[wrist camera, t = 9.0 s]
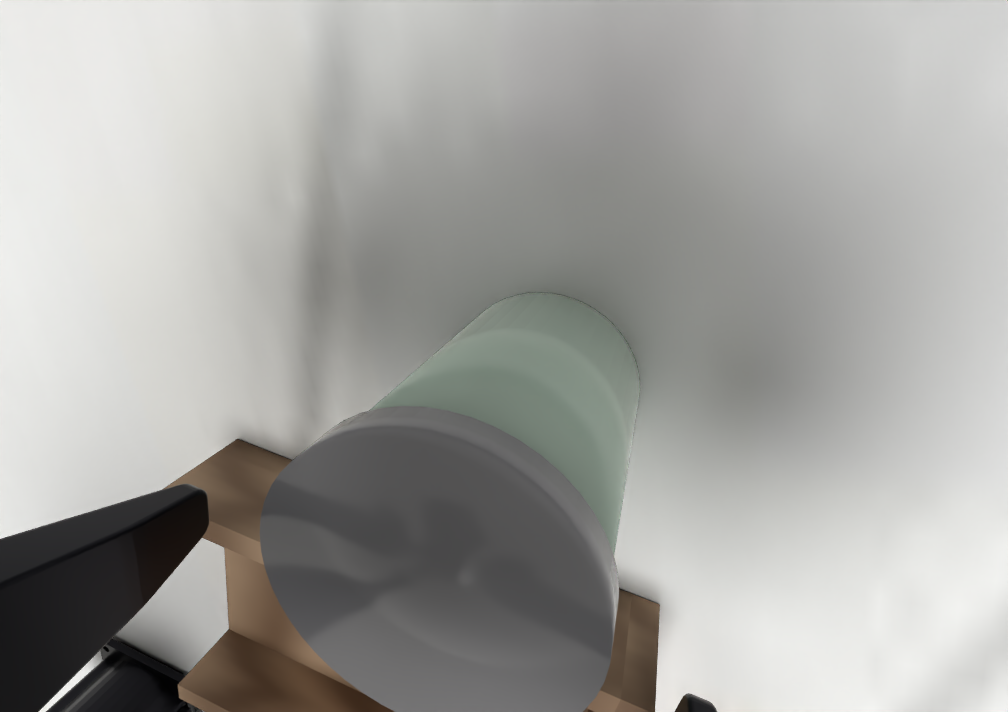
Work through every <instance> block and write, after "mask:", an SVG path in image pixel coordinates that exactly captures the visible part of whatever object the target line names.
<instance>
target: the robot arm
mask: <svg viewBox="0 0 1008 712" xmlns="http://www.w3.org/2000/svg"><path fill="white" fill-rule="evenodd" d="M208 526H209V509H208V496H207V493H206V492H205V490H203V489H201V488H198V487H196V486H194V485H191V484H180V485H177V486H173V487H170V488H167V489H163V490H160V491H157V492H154V493H150V494H147V495H144V496H140V497H137V498H134V499H131V500H127V501H124V502H121V503H117V504H114V505H111V506H107V507H104V508H101V509H98V510H94V511H91V512H88V513H84V514H81V515H78V516H74V517H71V518H68V519H65V520H61V521H58V522H55V523H51V524H48V525H45V526H41V527H38V528H35V529H32V530H28V531H25V532H22V533H18V534H15V535H12V536H8V537H5V538H2V539H0V712H39V711H40V710H41V709H42V708H43V707H44V706H45V705H46V704H47V703H48V702H49V701H50V700H51V699H52V698H53V697H54V696H55V695H56V694H57V693H58V692H59V691H60V690H61V689H62V688H63V687H64V686H65V685H66V684H67V683H68V682H69V681H70V680H71V679H72V678H73V677H74V676H75V675H76V674H77V673H78V672H79V671H80V670H81V669H82V668H83V667H84V666H85V665H86V664H87V663H88V662H89V661H90V660H91V659H92V658H93V657H94V656H95V655H96V654H97V653H98V652H99V651H100V650H101V654H102V659H103V661H102V662H101V663H99V664H98V665H97V666H96V667H95V668H94V669H93V670H92V671H91V672H89V673H88V674H87V675H86V676H85V677H84V678H83V679H82V680H81V681H79V682H78V683H77V684H76V685H75V686H74V687H73V688H72V689H71V690H69V691H68V692H67V693H66V694H65V695H64V696H63V697H62V698H61V699H59V700H58V701H57V702H56V703H55V704H54V705H53V706H52V707H51V708H49V709H48V710H47V711H46V712H195V707H194V706H193V705H191V704H189V703H187V702H186V701H184V700H182V699H180V698H179V692H178V684H179V683H180V682H181V681H182V679H183V678H184V677H185V675H183V674H181V673H179V672H177V671H175V670H173V669H171V668H169V667H167V666H165V665H163V664H161V663H159V662H157V661H155V660H153V659H151V658H149V657H147V656H146V655H144V654H142V653H140V652H138V651H136V650H134V649H132V648H130V647H128V646H126V645H124V644H122V643H120V642H118V641H116V640H114V639H112V638H113V637H114V636H115V635H116V634H117V633H118V632H119V631H120V630H121V629H122V628H123V627H124V626H125V625H126V624H127V623H128V622H129V621H130V620H131V619H132V618H133V617H134V616H135V615H136V613H137V612H138V611H139V610H140V609H141V608H142V607H143V606H144V605H145V604H146V603H147V602H148V601H149V599H150V598H151V597H152V596H153V595H154V594H155V593H156V591H157V590H158V589H159V588H160V587H161V586H162V584H163V583H164V582H165V581H166V580H167V578H168V577H169V576H170V575H171V574H172V572H173V571H174V570H175V569H176V568H177V567H178V565H179V564H180V563H181V562H182V561H183V559H184V558H185V557H186V556H187V555H188V553H189V552H190V551H191V550H192V549H193V548H194V546H195V545H196V544H197V543H198V542H199V540H200V539H201V538H202V537H203V536H204V534H205V532H206V531H207V529H208ZM675 712H717V710H716V708H715V707H714V705H713V704H712V703H710V702H709V701H707V700H704V699H702V698H700V697H697V696H695V695H692V694H689V693H688V694H686V695H684V696H683V698H682V700H681V701H680V703H679V705H678V707H677V708H676V710H675Z"/></svg>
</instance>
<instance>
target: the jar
mask: <svg viewBox="0 0 1008 712" xmlns="http://www.w3.org/2000/svg"><path fill="white" fill-rule="evenodd" d="M639 395H640V378H639V373H638V367H637V364H636V361H635V358H634V355H633V353H632V351H631V349H630V347H629V345H628V343H627V342H626V340H625V339H624V337H623V336H622V334H621V333H620V332H619V330H618V329H617V328H616V327H615V326H614V325H613V324H612V323H611V322H610V321H609V320H608V319H607V318H606V317H604V316H603V315H602V314H601V313H599V312H598V311H596V310H595V309H593V308H592V307H590V306H588V305H586V304H584V303H582V302H580V301H578V300H575V299H572V298H570V297H567V296H563V295H558V294H553V293H542V292H539V293H525V294H520V295H515V296H512V297H509V298H506V299H503V300H501V301H499V302H497V303H495V304H493V305H492V306H491V307H489V308H488V309H486V310H485V311H484V312H482V313H481V314H480V315H479V316H478V317H477V318H475V319H474V320H473V321H472V322H471V323H470V324H469V325H467V326H466V327H465V328H464V329H463V330H462V331H460V332H459V333H458V334H457V335H456V336H455V337H454V338H452V339H451V340H450V341H449V342H448V343H447V344H445V345H444V346H443V347H442V348H441V349H440V350H438V351H437V352H436V353H435V354H434V355H433V356H432V357H430V358H429V359H428V360H427V361H426V362H425V363H423V364H422V365H421V366H420V367H419V368H418V369H417V370H415V371H414V372H413V373H412V374H411V375H410V376H408V377H407V378H406V379H405V380H404V381H403V382H401V383H400V384H399V385H398V386H397V387H396V388H395V389H393V390H392V391H391V392H390V393H389V394H388V395H386V396H385V397H384V398H383V399H382V400H381V401H380V402H378V403H377V404H376V405H375V406H374V407H373V408H371V409H370V410H369V411H367V412H363V413H360V414H357V415H355V416H353V417H351V418H348V419H346V420H344V421H342V422H341V423H339V424H338V425H336V426H335V427H333V428H332V429H330V430H329V431H328V432H326V433H325V434H324V435H323V436H322V437H320V438H319V439H318V440H317V441H315V442H314V443H313V444H312V445H311V446H309V447H308V448H307V449H306V450H305V451H303V452H302V453H301V454H300V455H298V456H297V457H296V458H295V459H294V460H292V461H291V462H290V463H289V464H288V465H287V466H286V467H285V468H284V469H283V470H282V471H281V472H280V473H279V475H278V476H277V478H276V479H275V481H274V482H273V484H272V485H271V487H270V489H269V491H268V494H267V496H266V498H265V501H264V505H263V509H262V513H261V519H260V544H261V553H262V557H263V562H264V566H265V570H266V573H267V576H268V578H269V581H270V584H271V587H272V589H273V591H274V593H275V595H276V597H277V599H278V601H279V603H280V605H281V607H282V608H283V610H284V612H285V613H286V615H287V617H288V618H289V620H290V621H291V623H292V624H293V626H294V627H295V628H296V630H297V631H298V632H299V634H300V635H301V637H302V638H303V639H304V640H305V641H306V642H307V644H308V645H309V646H310V647H311V648H312V649H313V650H314V652H315V653H316V654H317V655H318V656H319V657H320V658H321V659H322V660H323V661H324V662H325V663H326V664H327V665H328V666H329V667H331V668H332V669H333V670H334V671H335V672H336V673H338V674H339V675H340V676H341V677H342V678H344V679H345V680H346V681H347V682H349V683H350V684H351V685H353V686H354V687H355V688H357V689H358V690H360V691H361V692H362V693H364V694H365V695H367V696H369V697H370V698H372V699H373V700H375V701H377V702H378V703H380V704H381V705H383V706H385V707H387V708H389V709H391V710H393V711H395V712H583V711H584V710H585V709H586V708H587V707H588V706H589V704H590V703H591V702H592V701H593V700H594V699H595V698H596V696H597V694H598V692H599V691H600V689H601V687H602V685H603V684H604V682H605V679H606V675H607V672H608V669H609V666H610V661H611V653H612V646H613V639H614V631H615V624H616V616H617V608H618V600H619V583H618V572H617V568H616V563H615V559H614V552H615V546H616V540H617V533H618V527H619V521H620V515H621V509H622V502H623V496H624V490H625V484H626V478H627V471H628V465H629V459H630V453H631V447H632V441H633V434H634V428H635V422H636V416H637V410H638V403H639Z"/></svg>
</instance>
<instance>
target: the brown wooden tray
mask: <svg viewBox="0 0 1008 712" xmlns="http://www.w3.org/2000/svg"><path fill="white" fill-rule="evenodd" d="M291 461H292V460H290V459H287V458H285V457H282V456H280V455H277V454H274V453H272V452H269V451H267V450H264V449H262V448H259V447H257V446H254V445H252V444H249V443H246V442H244V441H241V440H239V439H237V440H235V441H234V442H232V443H231V444H229V445H228V446H226V447H225V448H223V449H222V450H220V451H219V452H217V453H216V454H214V455H213V456H211V457H210V458H208V459H207V460H205V461H204V462H203V463H201V464H200V465H198V466H197V467H195V468H194V469H192V470H191V471H189V472H188V473H186V474H185V475H183V476H182V477H180V478H179V479H177V480H176V481H174V482H173V483H171V484H170V485H168V486H167V487H165V488H164V489H167V488H170V487H173V486H177V485H180V484H191V485H194V486H196V487H198V488H201V489H203V490H205V492H206V493H207V496H208V509H209V526H208V529H207V531H206V532H205V534H204V536H203V537H202V538H204V539H207V540H209V541H211V542H213V543H216V544H218V545H220V546H222V547H224V549H225V567H226V584H227V602H228V620H229V630H228V631H227V632H226V633H225V634H224V635H223V636H222V637H221V638H220V639H219V641H218V642H217V643H216V644H215V645H214V646H213V647H212V648H211V649H210V650H209V651H208V652H207V654H206V655H205V656H204V657H203V658H202V659H201V660H200V661H199V662H198V663H197V664H196V665H195V666H194V668H193V669H192V670H191V671H190V672H189V673H188V674H187V675H186V676H185V677H184V678H183V679H182V681H181V682H180V683H179V684H178V692H179V698H180V699H182V700H184V701H186V702H187V703H189V704H191V705H193V706H195V707H197V708H199V709H201V710H203V711H205V712H395V711H393V710H391V709H389V708H387V707H385V706H383V705H381V704H380V703H378V702H377V701H375V700H373V699H372V698H370V697H369V696H367V695H365V694H364V693H362V692H361V691H360V690H358V689H357V688H355V687H354V686H353V685H351V684H350V683H349V682H347V681H346V680H345V679H344V678H342V677H341V676H340V675H339V674H338V673H336V672H335V671H334V670H333V669H332V668H331V667H329V666H328V665H327V664H326V663H325V662H324V661H323V660H322V659H321V658H320V657H319V656H318V655H317V654H316V653H315V652H314V650H313V649H312V648H311V647H310V646H309V645H308V644H307V642H306V641H305V640H304V639H303V638H302V637H301V635H300V634H299V632H298V631H297V630H296V628H295V627H294V626H293V624H292V623H291V621H290V620H289V618H288V617H287V615H286V613H285V612H284V610H283V608H282V607H281V605H280V603H279V601H278V599H277V597H276V595H275V593H274V591H273V589H272V587H271V584H270V581H269V578H268V576H267V573H266V570H265V566H264V562H263V557H262V553H261V544H260V519H261V513H262V509H263V505H264V501H265V498H266V496H267V494H268V491H269V489H270V487H271V485H272V484H273V482H274V481H275V479H276V478H277V476H278V475H279V473H280V472H281V471H282V470H283V469H284V468H285V467H286V466H287V465H288V464H289V463H290V462H291ZM162 490H163V489H162ZM659 611H660V605H659V604H657V603H654V602H651V601H649V600H646V599H644V598H641V597H639V596H636V595H634V594H631V593H628V592H626V591H623V590H621V589H619V600H618V608H617V616H616V624H615V631H614V639H613V646H612V653H611V661H610V666H609V669H608V672H607V675H606V679H605V682H604V684H603V685H602V687H601V689H600V691H599V692H598V694H597V696H596V698H595V699H594V700H593V701H592V702H591V703H590V704H589V706H588V707H587V708H586V709H585V710H584V711H583V712H655V699H656V677H657V655H658V633H659Z"/></svg>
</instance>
